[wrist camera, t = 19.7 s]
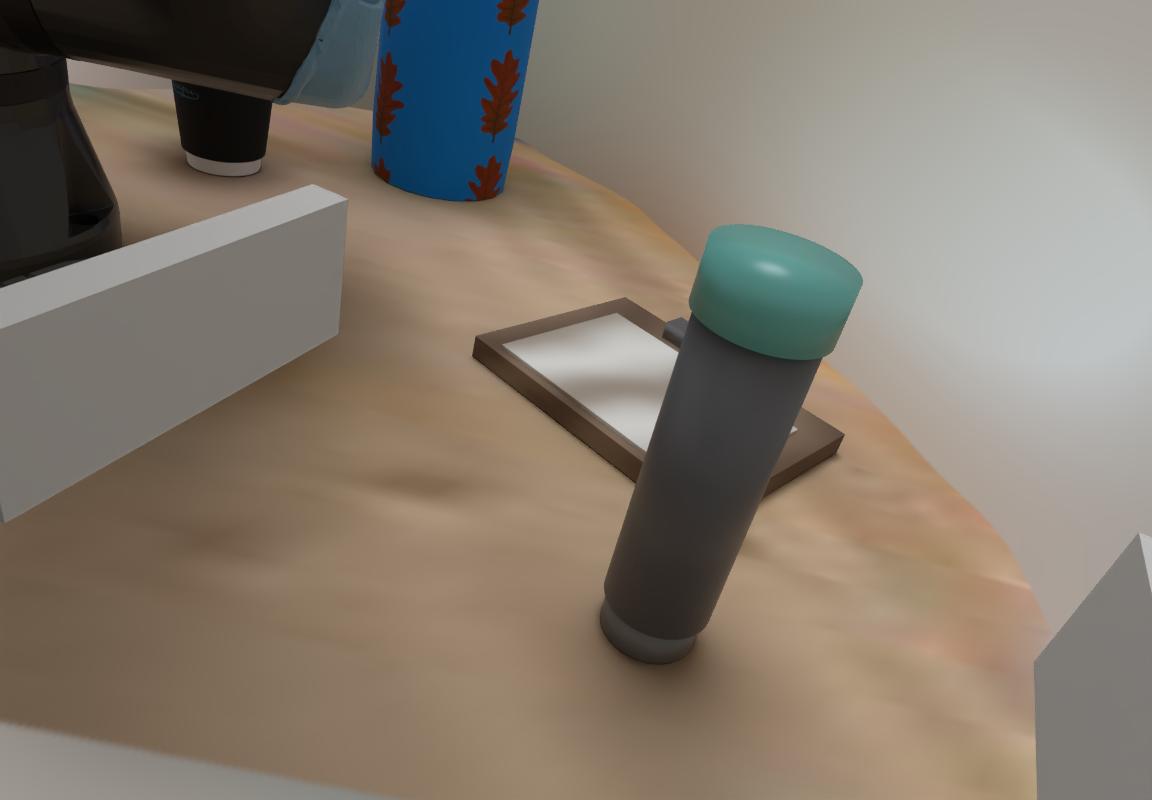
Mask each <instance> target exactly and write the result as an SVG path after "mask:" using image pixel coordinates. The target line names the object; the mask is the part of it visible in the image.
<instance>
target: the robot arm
mask: <svg viewBox="0 0 1152 800" xmlns="http://www.w3.org/2000/svg"><path fill="white" fill-rule="evenodd" d="M384 4H385V0H0V521H2V522H3V523H7V522H8V521H10V520H12V519H14V518H15V517H17V516H19V515H21V514H22V513H24V512H26V511H28V510H29V509H31V508H33V507H35V506H37V505H38V504H40V503H42V502H44V501H45V500H47V499H49V498H51V497H52V496H54V495H56V494H58V493H59V492H61V491H63V490H65V489H66V488H68V487H70V486H72V485H74V484H75V483H77V482H79V481H81V480H82V479H84V478H86V477H88V476H89V475H91V474H93V473H95V472H96V471H98V470H100V469H102V468H103V467H105V466H107V465H109V464H111V463H112V462H114V461H116V460H118V459H119V458H121V457H123V456H125V455H126V454H128V453H130V452H132V451H133V450H135V449H137V448H139V447H140V446H142V445H144V444H146V443H148V442H149V441H151V440H153V439H155V438H156V437H158V436H160V435H162V434H163V433H165V432H167V431H169V430H170V429H172V428H174V427H176V426H177V425H179V424H181V423H183V422H185V421H186V420H188V419H190V418H192V417H193V416H195V415H197V414H199V413H200V412H202V411H204V410H206V409H207V408H209V407H211V406H213V405H214V404H216V403H218V402H220V401H221V400H223V399H225V398H227V397H229V396H230V395H232V394H234V393H236V392H237V391H239V390H241V389H243V388H244V387H246V386H248V385H250V384H251V383H253V382H255V381H257V380H258V379H260V378H262V377H264V376H266V375H267V374H269V373H271V372H273V371H274V370H276V369H278V368H280V367H281V366H283V365H285V364H287V363H288V362H290V361H292V360H294V359H295V358H297V357H299V356H301V355H303V354H304V353H306V352H308V351H310V350H311V349H313V348H315V347H317V346H318V345H320V344H322V343H324V342H325V341H327V340H329V339H331V338H332V337H334V336H336V335H338V334H339V321H340V307H341V293H342V279H343V265H344V251H345V237H346V222H347V208H348V199H347V198H345V197H342V196H340V195H337V194H335V193H333V192H330V191H328V190H326V189H323V188H321V187H319V186H316V185H314V184H311V185H308V186H305V187H302V188H299V189H296V190H293V191H290V192H287V193H284V194H281V195H278V196H275V197H272V198H269V199H266V200H263V201H260V202H257V203H254V204H251V205H249V206H246V207H243V208H240V209H237V210H234V211H231V212H228V213H225V214H222V215H219V216H216V217H213V218H210V219H207V220H204V221H201V222H198V223H195V224H192V225H189V226H186V227H183V228H180V229H177V230H174V231H171V232H168V233H165V234H162V235H159V236H156V237H153V238H150V239H147V240H144V241H141V242H138V243H135V244H132V245H129V246H126V247H123V248H122V237H121V224H120V212H119V206H118V202H117V199H116V196H115V194H114V192H113V190H112V187H111V185H110V183H109V181H108V179H107V177H106V174H105V172H104V170H103V168H102V166H101V163H100V161H99V159H98V157H97V155H96V152H95V150H94V148H93V146H92V144H91V141H90V139H89V137H88V135H87V133H86V130H85V128H84V126H83V124H82V122H81V119H80V117H79V115H78V113H77V111H76V109H75V106H74V104H73V101H72V98H71V94H70V88H69V82H68V71H67V62H66V58H68V59H72V60H77V61H85V62H90V63H95V64H100V65H105V66H110V67H115V68H120V69H126V70H130V71H135V72H139V73H144V74H148V75H153V76H158V77H163V78H167V79H172V80H177V81H181V82H186V83H191V84H195V85H200V86H205V87H210V88H214V89H219V90H224V91H228V92H233V93H238V94H242V95H247V96H252V97H257V98H261V99H266V100H271V102H272V103H275V104H279V105H286V104H289V103H291V102H293V103H300V104H307V105H314V106H321V107H327V108H345V107H348V106H351V105H353V104H354V103H356V102H357V101H358V100H359V99H361V98H362V97H363V95H364V94H365V92H366V90H367V88H368V86H369V82H370V78H371V73H372V68H373V62H374V57H375V52H376V46H377V41H378V36H379V30H380V25H381V20H382V14H383V9H384ZM1034 687H1035V728H1036V769H1037V800H1152V538H1151V537H1149V536H1146V535H1144V534H1142V533H1138V534H1137V535H1136V537H1135V538H1134V539H1133V541H1132V542H1131V543H1130V544H1129V545H1128V546H1127V548H1126V549H1125V550H1124V552H1123V553H1122V554H1121V555H1120V556H1119V558H1118V559H1117V560H1116V561H1115V563H1114V564H1113V565H1112V566H1111V568H1110V569H1109V570H1108V571H1107V572H1106V574H1105V575H1104V576H1103V577H1102V579H1101V580H1100V581H1099V582H1098V584H1097V585H1096V586H1095V587H1094V589H1093V590H1092V591H1091V593H1090V594H1089V595H1088V596H1087V597H1086V598H1085V600H1084V601H1083V602H1082V604H1081V605H1080V606H1079V607H1078V608H1077V610H1076V611H1075V612H1074V613H1073V614H1072V616H1071V617H1070V618H1069V619H1068V621H1067V622H1066V623H1065V624H1064V626H1063V627H1062V628H1061V629H1060V631H1059V632H1058V633H1057V634H1056V636H1055V637H1054V638H1053V639H1052V640H1051V642H1050V643H1049V644H1048V645H1047V647H1046V648H1045V649H1044V650H1043V652H1042V653H1041V654H1040V655H1039V657H1038V658H1037V659H1036V660H1035V661H1034Z"/></svg>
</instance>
